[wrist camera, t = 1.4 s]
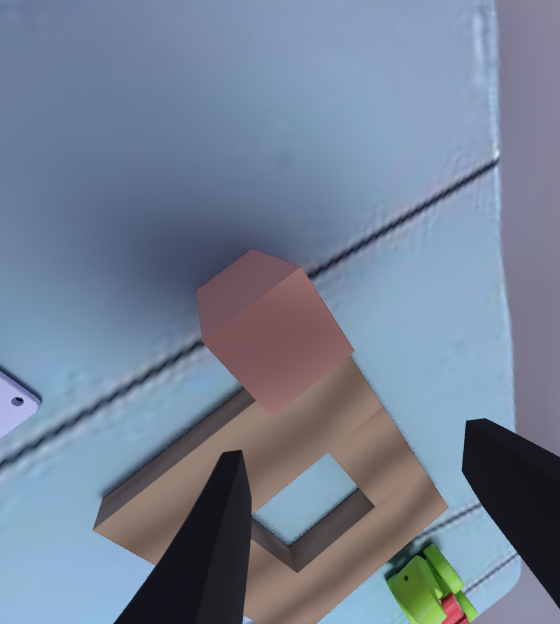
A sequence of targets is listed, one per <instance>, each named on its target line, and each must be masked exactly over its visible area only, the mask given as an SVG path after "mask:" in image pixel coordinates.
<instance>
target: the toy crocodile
mask: <svg viewBox="0 0 560 624" xmlns="http://www.w3.org/2000/svg"><path fill="white" fill-rule="evenodd" d="M423 553H424V555H425V556H426V558H427V559H428V560H427V561H425V560H424V559H423V558H421V557H420V556H415V557H414V558H413V559H412V560H411V561H410V562H409V563H408V564H407V565H406V566H405V567H404V568H403V569H402V570H401V571H400V572H399V573H398V574H397V573H395V574H394V575H392V576H391V577H390V578H389V579H388V580H387V584H388V586H389V588H390V590H391V592H392V594H393V595H394V597H395V599H396V600H397V602H398V604H399V605H400V607H401V608H402V610H403V612H404V613H405V615H406V616H407V618H408V619H409V621H410V622H411V624H471V623H470V622H471V621H472V620H473V619H474V618H475V617H476V616H477V615H478V612H477V611H476V609H475V608H474V607H473V605H472V604H471V603H470V601H469V600H468V599H467V597H466V596H465V595H464V594H463V592H462V591H461V590H460V589H462V587H463V586H464V584H463V582H462V581H461V579H460V578H459V576H458V575H457V574H456V572H455V571H454V569H453V568H452V567H451V565H450V564H449V563H448V561H447V560H446V559H445V557H444V556H443V555H442V553H441V552H440V551H439V550H438V548H437V547H436V546H435V545H434V544H430V545H429V546H428V547H427V548H425V549H424V550H423Z"/></svg>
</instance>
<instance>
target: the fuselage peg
mask: <svg viewBox="0 0 560 624" xmlns="http://www.w3.org/2000/svg"><path fill="white" fill-rule="evenodd" d="M196 294H197V302H198V310H199V318H200V326H201V334H202V342H203V343H204V344H205V345H206V346H207V347H208V348H209V350H210V351H211V352H212V353H213V354H214V355H215V356H216V357H217V358H218V359H219V360H220V362H221V363H222V364H223V365H224V366H225V367H226V368H227V369H228V370H229V371H230V372H231V374H232V375H233V376H234V377H235V378H236V379H237V380H238V381H239V382H240V383H241V384H242V386H243V387H244V388H245V389H246V390H247V391H248V392H249V393H250V394H251V395H252V396H253V398H254V399H255V400H256V401H257V402H258V403H259V404H260V405H261V406H262V407H263V408H264V410H265V411H266V412H267V413H268V414H269V415H270V416H271V417H273V416H274V415H276V414H277V413H278V412H279V411H281V410H282V409H283V408H284V407H286V406H287V405H288V404H289V403H291V402H292V401H293V400H294V399H296V398H297V397H298V396H299V395H301V394H302V393H303V392H304V391H306V390H307V389H308V388H309V387H311V386H312V385H313V384H314V383H316V382H317V381H318V380H319V379H321V378H322V377H323V376H324V375H325V374H327V373H328V372H329V371H330V370H332V369H333V368H334V367H335V366H337V365H338V364H339V363H340V362H342V361H343V360H344V359H345V358H347V357H348V356H349V355H350V354H352V353H353V352H354V351H355V350H354V349H353V347H352V346H351V344H350V343H349V341H348V339H347V338H346V336H345V335H344V333H343V332H342V330H341V328H340V327H339V325H338V324H337V322H336V320H335V319H334V317H333V316H332V314H331V313H330V311H329V309H328V308H327V306H326V305H325V303H324V302H323V300H322V298H321V297H320V295H319V294H318V292H317V291H316V289H315V287H314V286H313V284H312V283H311V281H310V279H309V278H308V276H307V275H306V273H305V272H304V270H303V268H302V267H301V266H299V265H296V264H293V263H290V262H288V261H285V260H282V259H279V258H277V257H274V256H271V255H268V254H266V253H263V252H260V251H257V250H255V249H251V250H249V251H248V252H247V253H245V254H244V255H243V256H241V257H240V258H239V259H237V260H236V261H234V262H233V263H232V264H230V265H229V266H228V267H226V268H225V269H224V270H222V271H221V272H220V273H218V274H217V275H216V276H214V277H213V278H212V279H210V280H209V281H208V282H206V283H205V284H204V285H202V286H201V287H200V288H198V289H197V290H196Z"/></svg>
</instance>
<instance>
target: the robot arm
mask: <svg viewBox="0 0 560 624" xmlns="http://www.w3.org/2000/svg"><path fill="white" fill-rule="evenodd" d="M15 397H20V398H22V399H23V400H24V402H19V401H17V400H16V399H15ZM40 405H41V402H40V400H39V399H38V398H37V397H35V396H34V395H33V394H31V393H30V392H29V391H27V390H26V389H24V388H23V387H22V386H20V385H19V384H17V383H16V382H15V381H13V380H12V379H10V378H9V377H8V376H6V375H5V374H4V373H2V372H1V371H0V439H1V438H2V437H4V436H5V435H6V434H8V433H9V432H10V431H12V430H13V429H14V428H16V427H17V426H18V425H20V424H21V423H22V422H24V421H25V420H26V419H28V418H29V417H30V416H32V415H33V414H34V413H35V412H36V411H37V410H38V409H39V408H40ZM462 472H463V474H464V476H465V478H466V479H467V481H468V483H469V484H470V486H471V488H472V490H473V491H474V493H475V494H476V496H477V498H478V499H479V501H480V502H481V504H482V506H483V507H484V508H485V510H486V511H487V512H488V514H489V515H490V517H491V518H492V519H493V521H494V522H495V523H496V525H497V526H498V527H499V529H500V530H501V531H502V533H503V534H504V535H505V537H506V538H507V539H508V541H509V542H510V543H511V545H512V546H513V547H514V548H515V550H516V551H517V552H518V554H519V555H520V556H521V558H522V559H523V560H524V562H525V563H526V564H527V566H528V567H529V568H530V570H531V571H532V572H533V574H534V575H535V576H536V577H537V579H538V580H539V582H540V583H541V584H542V585H543V587H544V588H545V589H546V591H547V592H548V593H549V595H550V596H551V598H552V599H553V600H554V602H555V603H556V604H557V606H558V607H559V609H560V457H559V456H557V455H555V454H553V453H551V452H549V451H547V450H545V449H543V448H542V447H540V446H537V445H536V444H534V443H532V442H530V441H528V440H527V439H525V438H523V437H521V436H519V435H517V434H515V433H513V432H512V431H510V430H508V429H506V428H504V427H502V426H500V425H498V424H496V423H494V422H492V421H490V420H488V419H486V418H483V419H475V420H467V421H466V428H465V439H464V451H463V462H462ZM251 530H252V497H251V492H250V487H249V481H248V476H247V471H246V466H245V461H244V456H243V451H242V450H235V451H227V452H223V453H222V454H221V455H220V457H219V459H218V461H217V463H216V465H215V467H214V469H213V471H212V473H211V475H210V477H209V479H208V481H207V483H206V484H205V486H204V488H203V490H202V492H201V494H200V495H199V497H198V499H197V501H196V502H195V504H194V506H193V507H192V509H191V511H190V513H189V514H188V516H187V518H186V520H185V521H184V523H183V524H182V526H181V528H180V529H179V531H178V532H177V534H176V535H175V537H174V539H173V540H172V542H171V543H170V545H169V546H168V548H167V550H166V551H165V553H164V554H163V556H162V557H161V559H160V560H159V562H158V563H157V565H156V566H155V568H154V569H153V571H152V572H151V573H150V575H149V576H148V578H147V579H146V581H145V582H144V583H143V585H142V586H141V587H140V589H139V590H138V592H137V593H136V594H135V596H134V597H133V599H132V600H131V601H130V603H129V604H128V605H127V607H126V608H125V609H124V610H123V612H122V613H121V614H120V616H119V617H118V618H117V620H116V621H115V622H114V623H113V624H242V622H243V613H244V603H245V594H246V584H247V574H248V565H249V555H250V545H251Z"/></svg>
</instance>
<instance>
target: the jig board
mask: <svg viewBox="0 0 560 624" xmlns="http://www.w3.org/2000/svg"><path fill="white" fill-rule="evenodd" d="M235 450H242V451H243V456H244V461H245V466H246V471H247V476H248V481H249V487H250V492H251V497H252V514H254V513H255V512H256V511H257V510H258V509H260V508H261V507H262V506H263V505H264V504H266V503H267V502H268V501H269V500H270V499H272V498H273V497H274V496H275V495H277V494H278V493H279V492H280V491H281V490H283V489H284V488H285V487H286V486H287V485H289V484H290V483H291V482H292V481H293V480H295V479H296V478H297V477H298V476H300V475H301V474H302V473H303V472H304V471H306V470H307V469H308V468H309V467H310V466H312V465H313V464H314V463H315V462H316V461H318V460H319V459H320V458H321V457H323V456H324V455H325V454H326V453H327V452H329V453H330V454H331V455H332V457H333V458H334V459H335V460H336V461H337V462H338V464H339V465H340V466H341V467H342V468H343V469H344V471H345V472H346V473H347V474H348V475H349V476H350V478H351V479H352V480H353V481H354V482H355V483H356V485H357V486H358V487H359V489H358V490H357V491H356V492H354V493H353V494H352V495H351V496H350V497H348V498H347V499H346V500H345V501H344V502H343V503H341V504H340V505H339V506H338V507H337V508H335V509H334V510H333V511H332V512H331V513H329V514H328V515H327V516H326V517H325V518H324V519H322V520H321V521H320V522H319V523H318V524H316V525H315V526H314V527H313V528H312V529H311V530H309V531H308V532H307V533H306V534H305V535H303V536H302V537H301V538H300V539H299V540H298V541H296V542H295V543H294V544H293V545H292V546H290V547H288V546H287V545H285V544H284V543H283V542H282V541H280V540H279V539H278V538H277V537H275V536H274V535H273V534H272V533H270V532H269V531H268V530H267V529H265V528H264V527H263V526H262V525H260V524H259V523H258V522H257V521H256V520H254V519H253V518H252V530H251V545H250V555H249V565H248V574H247V584H246V594H245V603H244V613H243V615H244V616H246V617H248V618H250V619H251V620H253V621H255V622H257V623H258V624H316V623H318V622H319V621H320V620H321V619H322V618H323V617H324V616H326V615H327V614H328V613H329V612H330V611H331V610H332V609H334V608H335V607H336V606H337V605H338V604H339V603H340V602H342V601H343V600H344V599H345V598H346V597H347V596H348V595H350V594H351V593H352V592H353V591H354V590H355V589H356V588H358V587H359V586H360V585H361V584H362V583H363V582H364V581H366V580H367V579H368V578H369V577H370V576H371V575H372V574H374V573H375V572H376V571H377V570H378V569H379V568H380V567H382V566H383V565H384V564H385V563H386V562H387V561H388V560H390V559H391V558H392V557H393V556H394V555H395V554H396V553H398V552H399V551H400V550H401V549H402V548H403V547H404V546H406V545H407V544H408V543H409V542H410V541H411V540H412V539H414V538H415V537H416V536H417V535H418V534H419V533H420V532H422V531H423V530H424V529H425V528H426V527H427V526H428V525H430V524H431V523H432V522H433V521H434V520H435V519H436V518H438V517H439V516H440V515H441V514H442V513H443V512H444V511H446V510H447V509H448V508H449V507H448V505H447V504H446V502H445V501H444V499H443V498H442V496H441V495H440V493H439V491H438V490H437V488H436V487H435V485H434V484H433V482H432V481H431V479H430V478H429V476H428V475H427V473H426V471H425V470H424V468H423V467H422V465H421V464H420V462H419V461H418V459H417V458H416V456H415V454H414V453H413V451H412V450H411V448H410V447H409V445H408V444H407V442H406V441H405V439H404V438H403V436H402V434H401V433H400V431H399V430H398V428H397V427H396V425H395V424H394V422H393V421H392V419H391V418H390V416H389V414H388V413H387V411H386V410H385V408H384V407H383V405H382V404H381V402H380V401H379V399H378V397H377V396H376V394H375V393H374V391H373V390H372V388H371V387H370V385H369V384H368V382H367V381H366V379H365V377H364V376H363V374H362V373H361V371H360V370H359V368H358V367H357V365H356V364H355V362H354V361H353V359H352V357H351V356H350V355H349V356H348V357H347V358H345V359H344V360H343V361H342V362H340V363H339V364H338V365H337V366H335V367H334V368H333V369H332V370H330V371H329V372H328V373H327V374H325V375H324V376H323V377H322V378H321V379H319V380H318V381H317V382H316V383H314V384H313V385H312V386H311V387H309V388H308V389H307V390H306V391H304V392H303V393H302V394H301V395H299V396H298V397H297V398H296V399H294V400H293V401H292V402H291V403H289V404H288V405H287V406H286V407H284V408H283V409H282V410H281V411H279V412H278V413H277V414H276V415H274V416H273V417H271V416H270V415H269V414H268V413H267V412H266V411H265V410H264V408H263V407H262V406H261V405H260V404H259V403H258V402H257V401H256V400H255V399H254V398H253V396H252V395H251V394H250V393H249V392H248V391H247V390H246V389H245V388H244V389H243V390H241V391H240V392H239V393H237V394H236V395H235V396H234V397H232V398H231V399H230V400H229V401H227V402H226V403H225V404H223V405H222V406H221V407H220V408H218V409H217V410H216V411H215V412H213V413H212V414H211V415H209V416H208V417H207V418H206V419H204V420H203V421H202V422H201V423H199V424H198V425H197V426H195V427H194V428H193V429H192V430H190V431H189V432H188V433H187V434H185V435H184V436H183V437H181V438H180V439H179V440H178V441H176V442H175V443H174V444H173V445H171V446H170V447H169V448H167V449H166V450H165V451H164V452H162V453H161V454H160V455H159V456H157V457H156V458H155V459H154V460H152V461H151V462H150V463H148V464H147V465H146V466H145V467H143V468H142V469H141V470H140V471H138V472H137V473H136V474H134V475H133V476H132V477H131V478H129V479H128V480H127V481H126V482H124V483H123V484H122V485H120V486H119V487H118V488H117V489H115V490H114V491H113V492H112V493H110V494H109V495H108V496H106V497H105V498H104V499H103V500H102V502H101V505H100V509H99V512H98V515H97V518H96V521H95V525H94V528H93V531H95V532H97V533H98V534H100V535H102V536H104V537H106V538H107V539H109V540H111V541H113V542H114V543H116V544H118V545H120V546H122V547H123V548H125V549H127V550H129V551H130V552H132V553H134V554H136V555H138V556H139V557H141V558H143V559H145V560H146V561H148V562H150V563H152V564H154V565H155V566H156V565H157V563H158V562H159V560H160V559H161V557H162V556H163V554H164V553H165V551H166V550H167V548H168V546H169V545H170V543H171V542H172V540H173V539H174V537H175V535H176V534H177V532H178V531H179V529H180V528H181V526H182V524H183V523H184V521H185V520H186V518H187V516H188V514H189V513H190V511H191V509H192V507H193V506H194V504H195V502H196V501H197V499H198V497H199V495H200V494H201V492H202V490H203V488H204V486H205V484H206V483H207V481H208V479H209V477H210V475H211V473H212V471H213V469H214V467H215V465H216V463H217V461H218V459H219V457H220V455H221V454H222V453H223V452H227V451H235Z"/></svg>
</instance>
